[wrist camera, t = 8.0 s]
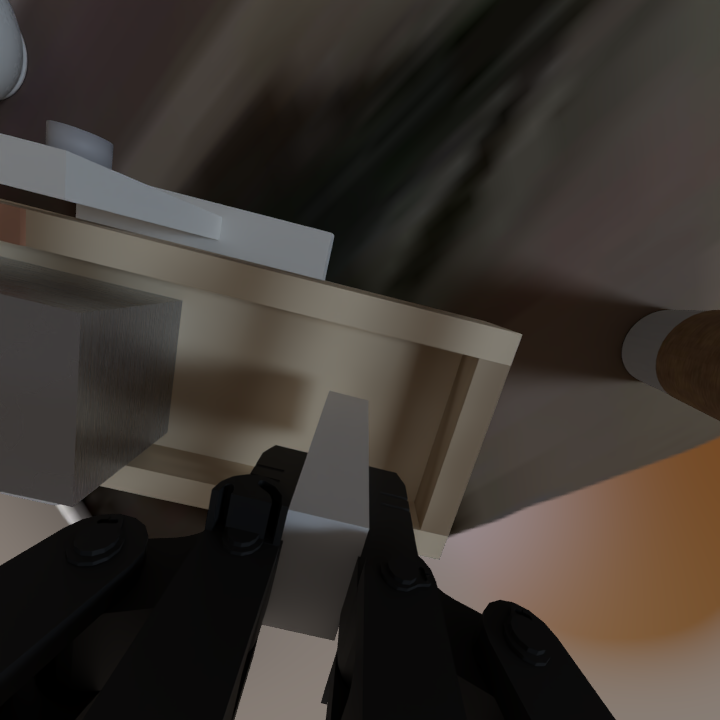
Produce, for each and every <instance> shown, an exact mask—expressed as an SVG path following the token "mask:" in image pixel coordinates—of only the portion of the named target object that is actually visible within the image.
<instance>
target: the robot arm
mask: <svg viewBox="0 0 720 720" xmlns="http://www.w3.org/2000/svg"><path fill="white" fill-rule="evenodd" d="M407 499H408V497H407V492H406V486H405V484H404V483H403V481H402V480H401V479H400V477H399V476H398V474H397V473H395V472H391V471H387V470H383V469H378V468H374V467H370V466H369V426H368V400H365V399H361V398H357V397H353V396H349V395H345V394H341V393H337V392H333V391H329V393H328V396H327V399H326V402H325V405H324V407H323V410H322V413H321V416H320V419H319V422H318V425H317V428H316V431H315V434H314V436H313V439H312V442H311V445H310V448H309V451H308V453H307V452H303V451H299V450H295V449H290V448H286V447H282V446H278V445H275V446H273V447H271V448H270V449H268V450H266V451H265V452H263V453H262V455H261V456H260V458H259V460H258V461H257V463H256V466H254V468H253V470H252V471H251V473H250V474H245V475H237V476H232V477H230V478H227V479H225V480H222V481H221V482H219V483H218V484H217V485H216V486H215V487H214V488H213V489H212V491H211V497H210V502H209V508H208V514H207V520H206V526H205V530H204V531H203V532H201V533H198V534H194V535H191V536H186V537H178V538H155V539H148V534H147V530H146V527H145V525H144V524H142V523H141V522H140V521H139V520H137V519H136V518H134V517H130V516H126V515H122V514H104V515H99V516H94V517H90V518H86V519H82V520H80V521H78V522H76V523H74V524H71V525H69V526H67V527H65V528H63V529H61V530H60V531H58V532H56V533H54V534H53V535H51V536H50V537H48V538H46V539H44V540H43V541H41V542H39V543H38V544H36V545H34V546H33V547H31V548H29V549H28V550H26V551H24V552H22V553H21V554H19V555H17V556H16V557H14V558H13V559H11V560H9V561H7V562H6V563H4V564H3V565H1V566H0V720H234V719H235V715H236V712H237V709H238V705H239V702H240V699H241V696H242V692H243V689H244V685H245V682H246V679H247V676H248V672H249V669H250V665H251V662H252V659H253V655H254V651H255V647H256V643H257V638H258V635H259V632H260V628H261V625H266V626H271V627H275V628H280V629H284V630H289V631H294V632H298V633H303V634H307V635H311V636H316V637H320V638H325V639H329V640H335V637H336V634H337V631H338V627H339V635H338V648H337V652H336V655H335V659H334V662H333V665H332V668H331V672H330V674H329V678H328V681H327V684H326V687H325V691H324V694H323V698H322V701H321V703H323V704H327V714H326V720H616V719H615V718H614V717H613V716H612V714H611V713H610V711H609V710H608V708H607V707H606V705H605V704H604V703H603V701H602V700H601V699H600V697H599V696H598V694H597V693H596V691H595V690H594V689H593V687H592V686H591V684H590V683H589V682H588V681H587V679H586V677H585V676H584V675H583V673H582V672H581V670H580V669H579V668H578V666H577V665H576V664H575V662H574V661H573V659H572V658H571V656H570V655H569V654H568V652H567V651H566V649H565V648H564V647H563V645H562V644H561V642H560V641H559V639H558V638H557V637H556V636H555V635H554V634H553V632H552V631H551V630H550V629H549V628H548V627H547V625H546V624H545V623H544V622H543V621H541V620H540V619H539V618H538V617H536V616H535V615H534V614H533V613H531V612H530V611H529V610H527V609H525V608H523V607H521V606H519V605H517V604H515V603H513V602H508V601H503V600H498V601H495V602H491V603H489V604H488V606H487V607H486V609H485V610H484V611H483V614H481V613H479V612H477V611H475V610H473V609H471V608H469V607H467V606H466V605H464V604H462V603H460V602H458V601H456V600H454V599H452V598H451V597H450V596H448V595H446V594H445V593H443V592H442V591H441V590H440V589H439V588H437V584H436V581H435V578H434V576H433V574H432V571H431V570H430V568H429V567H428V566H427V564H426V563H425V562H424V561H423V560H422V559H421V558H420V557H419V556H418V552H417V546H416V541H415V535H414V530H413V524H412V519H411V514H410V512H409V511H410V508H409V503H408V501H407ZM327 702H328V703H327Z"/></svg>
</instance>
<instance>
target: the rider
mask: <svg viewBox="0 0 720 720" xmlns="http://www.w3.org/2000/svg"><path fill="white" fill-rule="evenodd" d="M181 310H182V300H178V299H174V298H170V297H166V296H162V295H158V294H154V293H149V292H145V291H141V290H137V289H133V288H129V287H125V286H121V285H116V284H112V283H108V282H104V281H100V280H96V279H92V278H88V277H84V276H79V275H75V274H71V273H67V272H63V271H59V270H55V269H51V268H46V267H42V266H38V265H34V264H30V263H26V262H22V261H18V260H14V259H9V258H5V257H1V256H0V492H5V493H10V494H14V495H19V496H24V497H29V498H33V499H38V500H43V501H47V502H52V503H57V504H62V505H66V506H71V507H73V506H74V505H75V504H77V503H78V502H79V501H81V500H82V499H83V498H84V497H86V496H87V495H88V494H90V493H91V492H92V491H93V490H95V489H96V488H97V487H98V486H100V485H101V484H102V483H104V482H105V481H106V480H107V479H109V478H110V477H111V476H113V475H114V474H115V473H116V472H118V471H119V470H120V469H121V468H123V467H124V466H125V465H127V464H128V463H129V462H130V461H132V460H133V459H134V458H136V457H137V456H138V455H139V454H141V453H142V452H143V451H144V450H146V449H147V448H148V447H150V446H151V445H152V444H153V443H155V442H156V441H157V440H158V439H160V438H161V437H162V436H164V435H165V434H166V433H167V432H168V423H169V415H170V406H171V397H172V389H173V380H174V371H175V362H176V354H177V345H178V336H179V328H180V319H181Z"/></svg>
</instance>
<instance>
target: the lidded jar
mask: <svg viewBox="0 0 720 720" xmlns="http://www.w3.org/2000/svg"><path fill="white" fill-rule="evenodd" d="M27 65H28V57H27V49H26V44H25V41H24V38H23V36H22V33H21V31H20V29H19V26H18V23H17V19H16V16H15V13H14V11H13V9H12V7H11V4H10V2H9V0H0V100H4V99H6V98H9V97H10V96H12V95H13V94H15V93H16V92H17V91H18V90H19V88H20V87H21V85H22V84H23V81H24V79H25V77H26V72H27Z"/></svg>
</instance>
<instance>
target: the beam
mask: <svg viewBox="0 0 720 720" xmlns="http://www.w3.org/2000/svg"><path fill="white" fill-rule="evenodd" d="M0 256H1V257H5V258H9V259H14V260H18V261H22V262H26V263H30V264H34V265H38V266H42V267H46V268H51V269H55V270H59V271H63V272H67V273H71V274H75V275H79V276H84V277H88V278H92V279H96V280H100V281H104V282H108V283H112V284H116V285H121V286H125V287H129V288H133V289H137V290H141V291H145V292H149V293H154V294H158V295H162V296H166V297H170V298H174V299H178V300H182V310H181V319H180V328H179V336H178V345H177V354H176V362H175V371H174V380H173V389H172V397H171V406H170V415H169V423H168V432H167V433H166V434H165V435H164V436H162V437H161V438H160V439H158V440H157V441H156V442H155V443H153V444H152V445H151V446H150V447H148V448H147V449H146V450H144V451H143V452H142V453H141V454H139V455H138V456H137V457H136V458H134V459H133V460H132V461H130V462H129V463H128V464H127V465H125V466H124V467H123V468H121V469H120V470H119V471H118V472H116V473H115V474H114V475H113V476H111V477H110V478H109V479H107V480H106V481H105V482H104V483H102V484H101V485H100V486H103V487H107V488H112V489H117V490H121V491H126V492H130V493H135V494H140V495H144V496H149V497H153V498H158V499H163V500H167V501H172V502H176V503H181V504H186V505H190V506H195V507H200V508H204V509H208V508H209V502H210V497H211V491H212V489H213V488H214V487H215V486H216V485H217V484H218V483H219V482H221V481H222V480H225V479H227V478H230V477H232V476H237V475H245V474H250V473H251V471H252V470H253V468H254V466H256V463H257V461H258V460H259V458H260V456H261V455H262V453H263V452H265V451H266V450H268V449H270V448H271V447H273V446H275V445H278V446H282V447H286V448H290V449H295V450H299V451H303V452H307V453H308V451H309V448H310V445H311V442H312V439H313V436H314V434H315V431H316V428H317V425H318V422H319V419H320V416H321V413H322V410H323V407H324V405H325V402H326V399H327V396H328V393H329V391H333V392H337V393H341V394H345V395H349V396H353V397H357V398H361V399H365V400H368V426H369V466H370V467H374V468H378V469H383V470H387V471H391V472H395V473H397V474H398V476H399V477H400V479H401V480H402V481H403V483H404V484H405V486H406V492H407V497H408V499H407V501H408V503H409V508H410V511H409V512H410V514H411V519H412V524H413V530H414V535H415V541H416V546H417V552H418V555H420V556H425V557H430V558H434V559H440V557H441V554H442V551H443V549H444V546H445V543H446V541H447V538H448V535H449V532H450V530H451V527H452V524H453V522H454V519H455V516H456V513H457V511H458V508H459V505H460V503H461V500H462V497H463V494H464V492H465V489H466V486H467V484H468V481H469V478H470V475H471V473H472V470H473V467H474V465H475V462H476V459H477V456H478V454H479V451H480V448H481V446H482V443H483V440H484V437H485V435H486V432H487V429H488V427H489V424H490V421H491V418H492V416H493V413H494V410H495V408H496V405H497V402H498V399H499V397H500V394H501V391H502V389H503V386H504V383H505V380H506V378H507V375H508V372H509V370H510V367H511V364H512V361H513V359H514V356H515V353H516V351H517V348H518V345H519V342H520V340H521V337H522V334H520V333H517V332H514V331H512V330H509V329H506V328H503V327H500V326H497V325H495V324H492V323H489V322H486V321H483V320H479V319H475V318H471V317H467V316H463V315H459V314H455V313H451V312H447V311H443V310H439V309H435V308H431V307H427V306H423V305H419V304H415V303H411V302H407V301H403V300H399V299H396V298H392V297H388V296H384V295H380V294H376V293H372V292H368V291H364V290H360V289H356V288H352V287H348V286H344V285H340V284H336V283H332V282H328V281H324V280H320V279H316V278H312V277H308V276H305V275H301V274H297V273H293V272H289V271H285V270H281V269H277V268H273V267H269V266H265V265H261V264H257V263H253V262H249V261H245V260H241V259H237V258H233V257H229V256H225V255H221V254H217V253H214V252H210V251H206V250H202V249H198V248H194V247H190V246H186V245H182V244H178V243H174V242H170V241H166V240H162V239H158V238H154V237H150V236H146V235H142V234H138V233H134V232H130V231H126V230H123V229H119V228H115V227H111V226H107V225H103V224H99V223H95V222H91V221H87V220H83V219H79V218H75V217H71V216H67V215H63V214H59V213H55V212H51V211H47V210H43V209H39V208H35V207H31V206H28V205H24V204H20V203H16V202H12V201H8V200H4V199H0Z"/></svg>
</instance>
